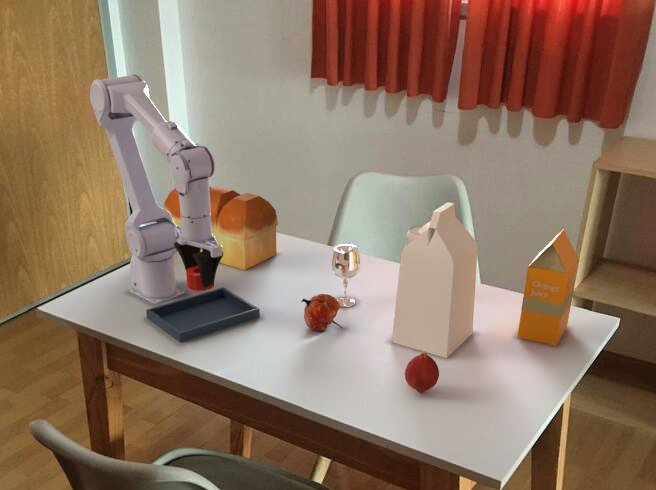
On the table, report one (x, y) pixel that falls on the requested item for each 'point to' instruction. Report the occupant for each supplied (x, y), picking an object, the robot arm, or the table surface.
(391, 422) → the table surface
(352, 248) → the wineglass
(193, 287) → the ring
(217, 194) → the bread
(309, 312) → the pomegranate
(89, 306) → the table surface
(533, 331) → the orange juice
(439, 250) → the milk
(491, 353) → the table surface
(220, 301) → the tray
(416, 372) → the onion
